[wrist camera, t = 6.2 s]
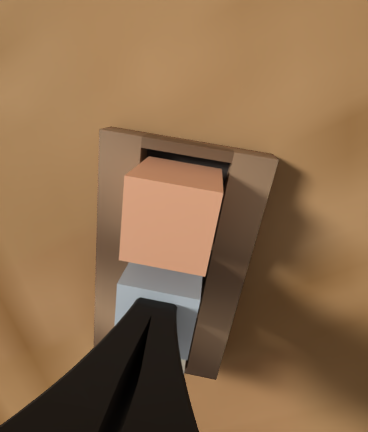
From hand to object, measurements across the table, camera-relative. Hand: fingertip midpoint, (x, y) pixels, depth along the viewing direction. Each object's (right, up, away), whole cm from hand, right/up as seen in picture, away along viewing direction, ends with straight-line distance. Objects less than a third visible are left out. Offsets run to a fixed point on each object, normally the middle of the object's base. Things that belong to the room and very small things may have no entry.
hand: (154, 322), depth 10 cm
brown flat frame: (0, +1, +4) cm, 4 cm away
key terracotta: (+1, +4, +1) cm, 5 cm away
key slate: (0, +1, +3) cm, 3 cm away
